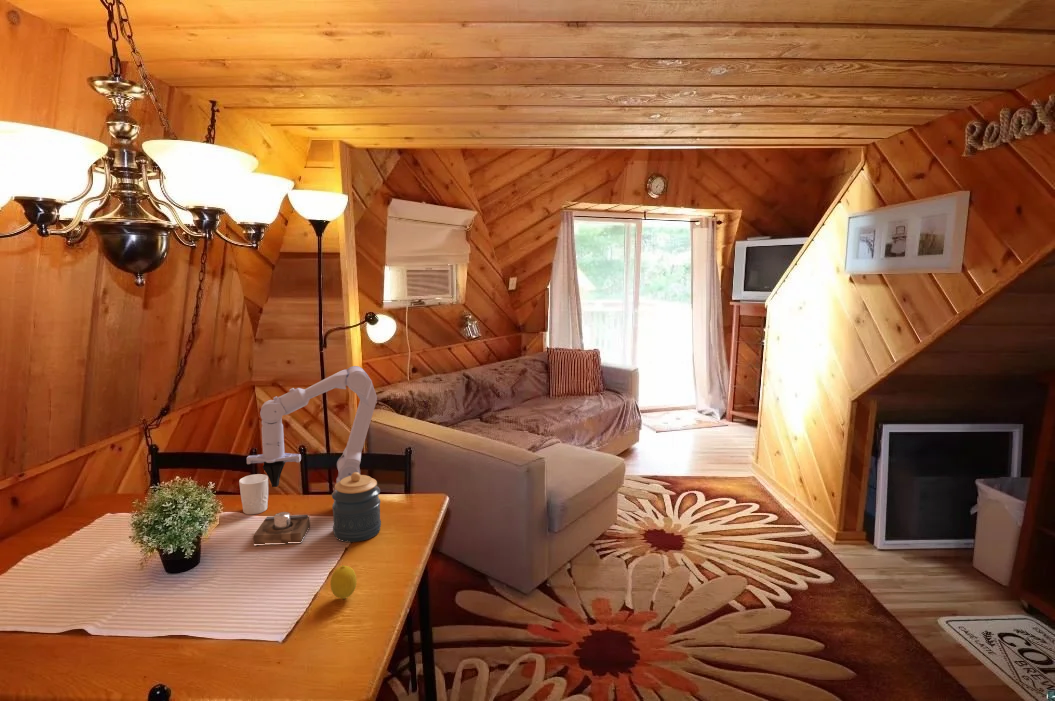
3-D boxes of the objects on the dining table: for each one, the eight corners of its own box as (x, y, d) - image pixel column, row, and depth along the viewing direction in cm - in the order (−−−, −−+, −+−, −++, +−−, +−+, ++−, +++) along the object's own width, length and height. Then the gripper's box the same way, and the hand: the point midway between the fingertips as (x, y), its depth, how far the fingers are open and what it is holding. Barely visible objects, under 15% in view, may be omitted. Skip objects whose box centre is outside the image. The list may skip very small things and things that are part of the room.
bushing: (292, 531, 152) (291, 511, 151) (289, 538, 148) (288, 517, 147) (277, 532, 151) (276, 512, 150) (273, 539, 147) (272, 518, 146)
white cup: (235, 513, 162) (232, 481, 161) (255, 502, 170) (253, 472, 168) (256, 517, 160) (254, 485, 159) (275, 506, 167) (273, 475, 166)
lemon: (359, 591, 124) (358, 559, 123) (352, 606, 119) (351, 572, 118) (335, 591, 124) (334, 559, 123) (327, 606, 118) (326, 572, 117)
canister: (367, 545, 145) (365, 483, 142) (323, 540, 147) (321, 478, 145) (389, 524, 157) (387, 466, 155) (348, 519, 160) (346, 462, 157)
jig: (310, 526, 155) (309, 514, 155) (300, 543, 145) (300, 531, 145) (266, 528, 153) (265, 516, 153) (253, 546, 143) (252, 533, 143)
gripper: (241, 446, 152) (244, 492, 154) (295, 445, 154) (297, 489, 156) (250, 438, 159) (253, 482, 161) (302, 437, 161) (303, 480, 163)
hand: (275, 485), depth 159 cm, fingers closed
